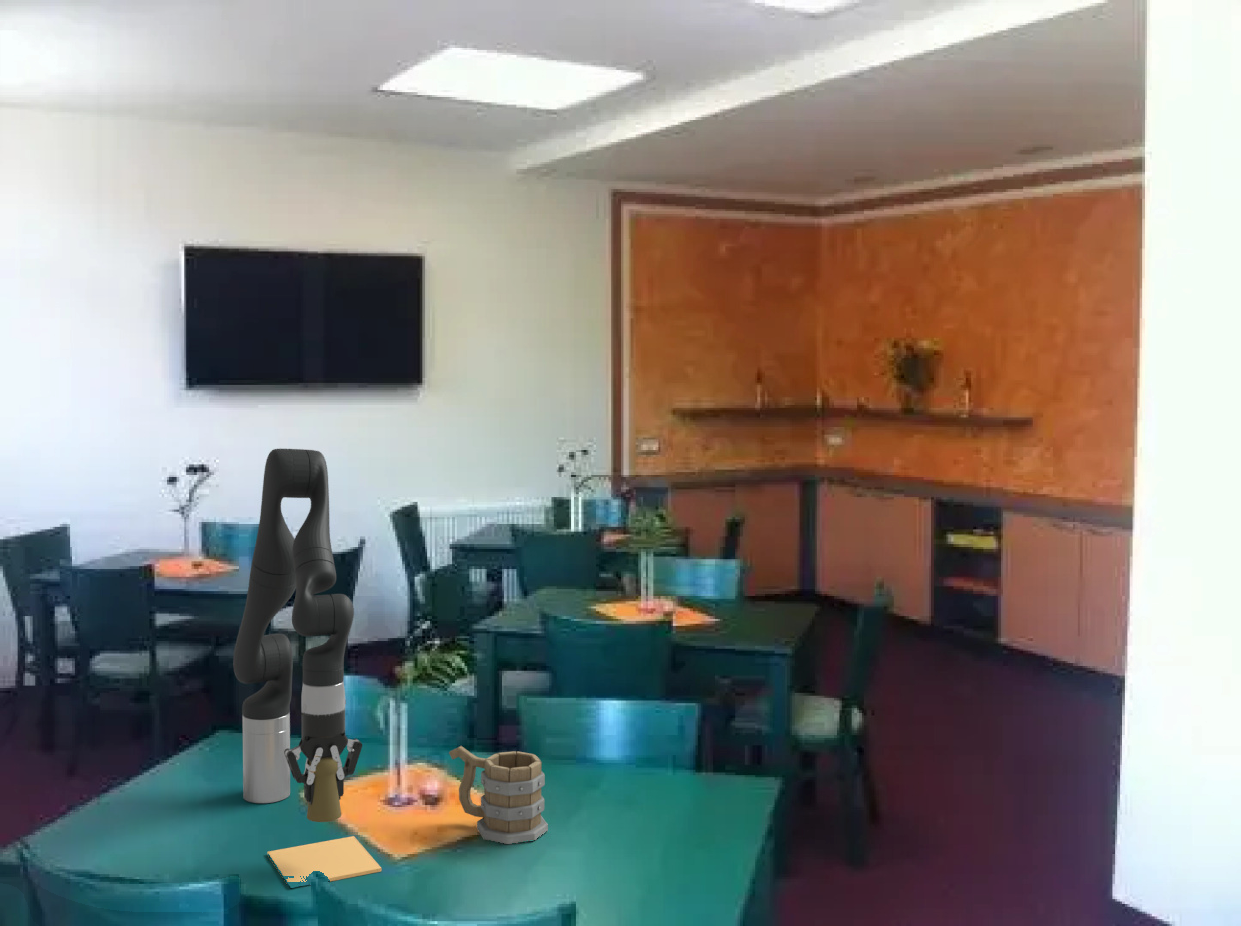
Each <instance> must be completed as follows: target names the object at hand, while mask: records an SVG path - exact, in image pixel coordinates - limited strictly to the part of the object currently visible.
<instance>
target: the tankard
mask: <svg viewBox="0 0 1241 926" xmlns="http://www.w3.org/2000/svg"><path fill="white" fill-rule="evenodd" d="M448 755H449V756H450V757H451V760H456V759H457V758H460V760H462V761H463V762H464V768H463V776H462V779H461V782H460V784H459V786H458V799H459V803H460V804H461V807H462V809H463V811H464V813H466V814H468V815H471V816H473V817H478V818H480V819H478V820H477V822H476V830H477V831H478V833H479V834H480V836H481V837H482V839H483V840H485V841H489V840H491V841H490V842H493V841H495V842H494V843H498V842H500V843H499V844H503V843H504V845H507V844H508V845H513V844H512V843H516V844H519V843H518V842H523V841H527V840H528V841H530V840H535V841H536V840H538V839H539V838H540V837H542V836H543V835H545V834H546V833H547V832H548V831H549V824H548V822H546V820H545V819H544V817H543V816H542V812H544V811H545V798H544V797H543V795H542V788H543V787H544V786H545V784H546V782H545V781H546V779H545V777H546V776H545V773H544V772H543V771H542V764H543V763H542V761H541V759H540V758H539V757H538V756H537V755H536V754H534V753H528V752H524V751H523V752H522V751H516V750H514V751H504V752H503V751H502V752H497V753H494V754H492V755H490V756H489V757H487V758H486V757H485V758H484V757H478V756H477V755H475V754H474V753H471V751H469V750H467V749H466V748H465V747H463V746H462V745H460V746H458V747H457V748H454V749H452V750H450V751H449V752H448ZM477 768H480V769H484V770H482V771H481V772H480V783H481V785H482V786H483V787H484V791H483V792H484V793H483V795H482V796H481V797H480V805H477V804H476V803H473V800H472V797H471V791H472V787H473V784H474V781H475V778H476V774H477V773H476V770H477ZM546 831H547V832H546ZM545 832H546V833H545ZM544 833H545V834H544ZM542 834H543V835H542ZM541 835H542V836H541ZM539 836H540V837H539ZM538 837H539V838H538ZM537 838H538V839H537Z"/></svg>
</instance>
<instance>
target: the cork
mask: <svg viewBox="0 0 1241 926" xmlns="http://www.w3.org/2000/svg"><path fill="white" fill-rule="evenodd" d="M337 763H338V762H336V761H335V760H334V759H333V758H332V757H326V758H321V759H320V762H318V764H317V765H315V766H316V771H315V772H314V775H315V777H314V781H313V784H315V788H314V796H313V803H312V805H310V804H309V803H308V802H307V803H308V804H307V814H306V819H307V820H308V821H311V822H315V823H328V822H329V823H330V822H333V821H335V820H339V819H340V818H341V817H342V809H341V802H340V801H341V800H339V795H338V788H337V779H336V772H337V771H338V764H337ZM309 765H310V766H311V762H309Z"/></svg>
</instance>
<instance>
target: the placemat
mask: <svg viewBox="0 0 1241 926" xmlns="http://www.w3.org/2000/svg"><path fill="white" fill-rule="evenodd" d="M268 854H269V855H270V857H271V858H272V860H273V861H274V863H275V864H276V865H277V867H278V869H279V870H280V871H281V873H282V875H283V876H294V878H289V877H288V879H286V880H287V882H300V881H301V882H303V881H304V882H306V881H307V880H306V881H305V879H306V876H307V877H308V876H309V874H311V873H312V872H313V871H320V872H322V873H324V875H325V876H327V877H328V879H329V880H330V882H336V881H339V880H340V881H341V880H344V879H350V878H355V877H360V876H364V875H369V874H374V873H375V874H376V873H379V872H382V867H381V866H380V864H379V863H378V862H377V861H376V860H375V859H374V858H373V856H372V855H371V854H370V853H369V851H367V849H366V848H365V847H364V846H363V844H362V843H361V842H359V840H358V839H357V838H356V837H355V836H354V835H352V836H348V837H342V838H335V839H330V840H326V841H325V840H324V841H319V842H314V843H308V844H304V845H303V844H301V845H298V846H297V845H296V846H291V847H287V848H286V847H285V848H280V849H276V850H271V851H270V850H269V851H267V855H268ZM300 876H301V877H300ZM303 876H304V878H305V879H304V878H303ZM301 878H302V879H301ZM302 880H303V881H302Z"/></svg>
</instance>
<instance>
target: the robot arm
mask: <svg viewBox="0 0 1241 926" xmlns="http://www.w3.org/2000/svg"><path fill="white" fill-rule="evenodd" d="M328 474H329V472H328V465H327V461H326V458H325V456H324V454H323V453H322V452H321V451H319V450H314V449H303V448H299V449H298V448H273V449H272V450H271V451H269V453H268V455H267V458H266V462H265V465H264V473H263V479H262V480H263V481H262V482H263V483H262V494H261V505H260V516H259V522H258V528H257V535H256V540H255V544H254V545H255V546H254V550H253V555H252V560H251V566H250V572H249V580H248V588H247V594H246V600H245V606H244V610H243V616H242V619H241V623H240V626H239V630H238V634H237V636H236V637H237V638H236V642H235V646H234V650H233V657H232V662H233V663H232V665H233V672H234V675H235V678H236V679H237V680H238V682H240V683H242V684H257V683H264V682H265V684H264V685H263V687H261V688H260V689H259V690H258V691H256V692H255V693H253V694H251V695H250V696H248V697H246V698H245V699H244V700H243V703H242V705H241V707H242V775H243V776H242V786H243V788H242V790H243V792H242V793H243V795H242V798H243V799H244V800H245V801H246V802H249V803H253V804H254V803H255V804H269V803H270V804H271V803H275V802H276V803H277V802H279V801H283V800H285V799H287V798H288V797H290V794H291V775H292V778H293V779H294V780H295V781H296V783H298V784H301V783H302V784H303V797H304V800H305V801H306V802H307V803H309V804H310V805H312V803H313V796H314V788H315V784H313V781H314V777H315V775H314V772H315V771H316V766H315V765H317V764H318V762H320V759H321V758H326V757H332V758H333V759H334V760H335V761H336V762H338V763H337V764H338V771H337V772H336V779H337V788H338V795H339V801H341V797H343V796H344V792H345V790H344V783H345V778H346V777H348V776H351V775H353V774H355V771H356V767H357V764H358V761H359V758H360V754H361V751H362V748H363V743H362V742H361V741H360V740H359V739H358V738H353V739H351V738H348V737H347V735H346V704H347V703H346V701H347V700H346V691H345V690H346V689H345V684H344V683H345V682H344V677H345V675H344V668H345V667H344V664H345V663H344V662H345V658H344V657H345V654H346V653H345V651H346V646H347V642H348V639H349V636H350V632H351V629H352V625H353V621H354V615H355V608H354V604H353V601H352V600H351V598H349V597H348V595H346V594H343V593H331V594H319V593H322V592H326V591H328V590H330V589H331V588H332V587H334V586H335V584H336V582H337V573H336V572H337V571H336V565H335V560H334V555H333V550H332V549H333V548H332V541H331V533H330V532H331V530H330V528H331V527H330V493H329V491H330V490H329V475H328ZM284 498H287V499H289V498H291V499H292V498H293V499H310V508H309V511H308V514H307V516H306V518H305V519H304V521H303V523H302V525H301V526H300V528H299V529H298V532H297V533H296V535H295V537H294V536H293V534H292V532H291V530H290V528H289V527H288V525H287V523H286V521H285V520H286V519H285V518H284V516H283V513H282V512H283V511H282V500H283V499H284ZM294 593H295V595H294V596H295V598H294V602H293V606H292V607H293V608H292V611H291V624H292V627H293V629H294V631H295V632H296V633H297V634H298V635H300V636H302V637H315V636H328V635H329V638H328V640H327V641H326V642H324V643H322V644H320V645H317V646H314V647H311V648H308V649H306V650H305V651H304V653H303V654H302V688H301V689H302V690H301V698H300V699H301V700H300V701H301V703H300V704H301V705H300V707H301V709H300V710H301V717H300V718H301V739H300V741H299V742H298V745H297V746H295V747H293V748H291V736H290V735H291V722H290V721H291V718H290V717H291V715H290V713H291V712H290V710H291V709H290V706H291V705H290V704H291V701H292V685H293V683H292V682H293V667H294V666H293V665H294V660H293V659H294V658H293V656H294V655H293V649H292V644H291V642H290V639H289V638H288V636H287V635H285V634H284V633H272V634H265V631H267V628H268V627H269V624H270V623H271V621H272V620H273V619H274V617H276V615H277V614H278V613H279V612H280V611H281V610H282V608H283V607H284V606H285V605H286V603H287V602H288V601H289V600H290V599H291V598H292V596H293V594H294ZM316 594H318V595H316ZM346 747H347V748H346ZM345 748H346V749H347V751H348V753H347V756H346V758H345V761H344V765H343V763H342V760H341V757H340V756H341V755H342V753H343V751H344V750H345ZM301 752H302V754H303V755H304V756H305V757H306V760H305V765H304V768H305V769H304V771H303V773H302V771H301V768H300V766H299V764H298V760H299V759H300V754H301ZM309 762H311V766H310V765H309Z"/></svg>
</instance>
